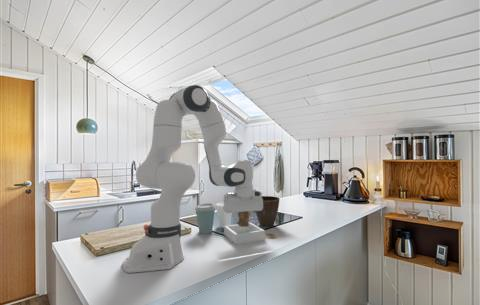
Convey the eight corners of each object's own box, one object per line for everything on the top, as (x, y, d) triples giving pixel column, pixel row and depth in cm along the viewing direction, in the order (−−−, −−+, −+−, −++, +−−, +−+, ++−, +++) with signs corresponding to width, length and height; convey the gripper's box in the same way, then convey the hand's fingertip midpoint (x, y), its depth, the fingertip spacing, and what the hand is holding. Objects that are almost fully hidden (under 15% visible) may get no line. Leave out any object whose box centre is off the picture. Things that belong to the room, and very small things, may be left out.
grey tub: (235, 245, 117) (235, 234, 117) (224, 235, 131) (224, 226, 131) (264, 241, 123) (264, 230, 123) (250, 232, 137) (250, 222, 137)
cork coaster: (267, 240, 124) (267, 239, 124) (259, 235, 131) (259, 234, 131) (281, 238, 127) (281, 237, 127) (273, 233, 134) (273, 232, 134)
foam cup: (233, 224, 151) (233, 202, 151) (231, 229, 141) (231, 206, 141) (217, 224, 152) (217, 202, 152) (214, 229, 142) (214, 205, 142)
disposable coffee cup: (203, 237, 128) (203, 207, 128) (191, 233, 136) (190, 204, 136) (219, 232, 136) (219, 204, 136) (206, 228, 143) (206, 201, 143)
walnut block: (241, 226, 124) (241, 212, 124) (237, 224, 127) (238, 210, 127) (248, 226, 125) (248, 211, 125) (245, 224, 129) (245, 210, 129)
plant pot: (266, 231, 138) (266, 201, 138) (248, 225, 150) (248, 198, 149) (285, 226, 148) (285, 198, 147) (266, 221, 159) (266, 195, 159)
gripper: (226, 194, 120) (225, 224, 119) (264, 192, 128) (264, 220, 127) (221, 192, 126) (221, 220, 125) (259, 191, 133) (258, 217, 133)
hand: (243, 220), depth 126 cm, fingers closed on walnut block, 4 cm apart
